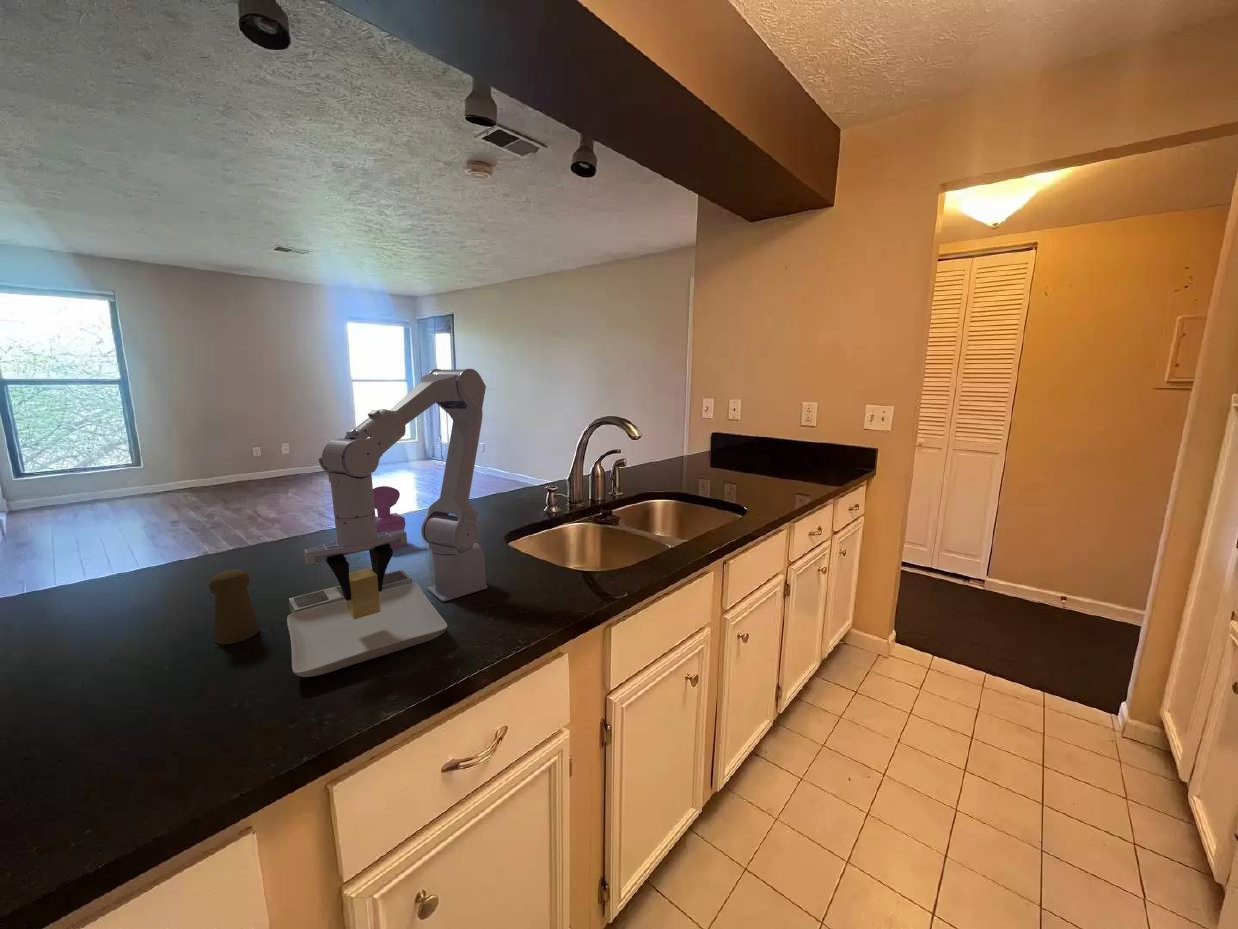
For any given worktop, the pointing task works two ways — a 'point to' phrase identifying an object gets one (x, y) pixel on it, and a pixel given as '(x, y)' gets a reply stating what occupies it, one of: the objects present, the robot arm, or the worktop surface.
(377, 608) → the yellow rectangular block
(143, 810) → the worktop surface
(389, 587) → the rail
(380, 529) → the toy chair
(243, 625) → the cork
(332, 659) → the salad plate
